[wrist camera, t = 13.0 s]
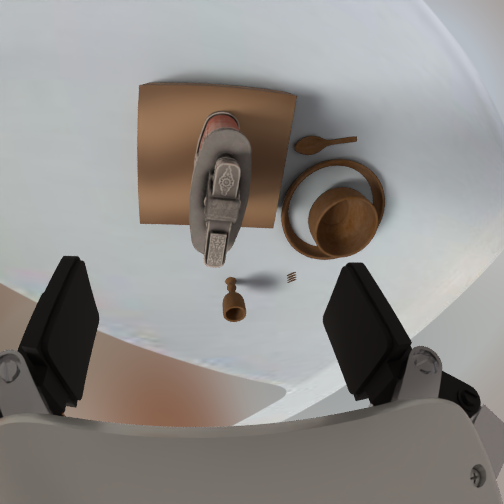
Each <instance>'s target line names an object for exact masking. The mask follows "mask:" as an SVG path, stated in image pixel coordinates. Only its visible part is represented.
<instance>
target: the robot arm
mask: <svg viewBox="0 0 504 504" xmlns="http://www.w3.org/2000/svg"><path fill="white" fill-rule="evenodd" d="M98 324H99V314H98V310H97V307H96V304H95V300H94V297H93V293H92V290H91V286H90V282H89V278H88V274H87V270H86V266H85V263H84V261H81V260H80V258H79V257H78V256H63V257H62V259H61V261H60V263H59V264H58V266H57V268H56V270H55V272H54V274H53V276H52V278H51V280H50V282H49V284H48V286H47V288H46V290H45V292H44V293H43V294H42V295H41V297H40V299H39V301H38V303H37V305H36V308H35V310H34V312H33V314H32V316H31V319H30V321H29V324H28V326H27V328H26V330H25V333H24V336H23V338H22V341H21V343H20V345H19V348H18V351H15V350H6V351H2V352H1V353H0V504H503V502H502V498H501V494H500V491H499V488H498V485H497V481H496V478H497V476H498V474H499V472H500V470H501V468H502V465H503V463H504V423H503V422H502V421H501V420H500V419H499V418H498V417H497V416H496V415H495V414H494V413H493V412H492V411H490V410H489V409H488V408H487V407H486V406H485V405H484V404H483V405H482V406H480V403H481V402H480V397H479V395H478V393H477V391H476V390H475V389H474V388H473V387H471V386H470V385H468V384H466V383H464V382H462V381H461V380H458V379H457V378H455V377H453V376H451V375H449V374H447V373H445V372H443V371H442V363H441V360H440V358H439V356H438V355H437V354H436V353H435V352H434V351H433V350H431V349H430V348H427V347H424V346H417V347H414V348H413V349H412V348H411V346H410V345H411V343H412V342H411V340H410V338H409V337H408V335H407V333H406V331H405V330H404V328H403V326H402V324H401V323H400V321H399V319H398V318H397V316H396V314H395V313H394V311H393V309H392V308H391V306H390V304H389V303H388V301H387V299H386V298H385V296H384V295H383V293H382V291H381V290H380V288H379V287H378V285H377V283H376V282H375V280H374V279H373V277H372V276H371V274H370V273H369V271H368V269H367V268H366V266H365V265H364V264H363V263H347V264H346V266H344V267H343V268H342V269H341V272H340V275H339V277H338V280H337V283H336V285H335V288H334V290H333V293H332V295H331V298H330V301H329V303H328V305H327V308H326V310H325V313H324V315H323V324H324V327H325V329H326V332H327V334H328V337H329V340H330V342H331V345H332V347H333V350H334V353H335V355H336V358H337V360H338V363H339V366H340V368H341V371H342V374H343V376H344V379H345V382H346V384H347V387H348V390H349V392H350V393H351V394H354V397H355V400H356V401H358V400H363V399H367V398H369V401H370V405H369V407H368V408H364V409H359V410H354V411H349V412H345V413H340V414H334V415H328V416H323V417H316V418H310V419H303V420H296V421H289V422H279V423H270V424H259V425H246V426H228V427H160V426H143V425H130V424H119V423H110V422H101V421H93V420H85V419H79V418H72V417H66V416H65V415H64V412H65V407H66V406H70V407H76V406H77V400H81V399H82V395H83V390H84V384H85V380H86V375H87V370H88V365H89V361H90V356H91V352H92V348H93V344H94V340H95V336H96V332H97V328H98Z"/></svg>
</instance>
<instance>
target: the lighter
mask: <svg viewBox="0 0 504 504" xmlns="http://www.w3.org/2000/svg"><path fill="white" fill-rule="evenodd" d="M250 182H251V146H250V143H249V141H248V139H247V138H246V136H245V135H244V134H243V133H242V132H240V126H239V122H238V120H237V118H236V117H235V116H234V115H233V114H231V113H230V112H227V111H216V112H213V113H211V114H210V115H208V117H207V118H206V120H205V122H204V125H203V128H202V130H201V133H200V136H199V139H198V144H197V149H196V154H195V159H194V169H193V174H192V181H191V189H190V198H189V224H190V232H191V239H192V244H193V246H194V248H195V249H196V250H197V251H199V252H201V253H202V254H204V263H205V265H206V266H208V267H215V268H216V267H221V266H223V265H224V263H225V258H226V253H227V251H229V250H230V249H231V247H232V246H233V244H234V242H235V239H236V237H237V234H238V232H239V230H240V227H241V225H242V221H243V218H244V214H245V211H246V207H247V204H248V198H249V190H250Z"/></svg>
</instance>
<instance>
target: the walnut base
mask: <svg viewBox="0 0 504 504" xmlns="http://www.w3.org/2000/svg"><path fill="white" fill-rule="evenodd" d="M296 98H297V96H295V95H292V94H290V93H287V92H283V91H276V90H269V89H261V88H253V87H243V86H233V85H220V84H203V83H147V84H143V85H139V100H138V136H137V159H138V195H139V214H140V224H175V225H190V224H189V198H190V189H191V181H192V174H193V169H194V159H195V154H196V149H197V144H198V139H199V136H200V133H201V130H202V128H203V125H204V122H205V120H206V118H207V117H208V115H210V114H211V113H213V112H216V111H227V112H230V113H231V114H233V115H234V116H235V117H236V118H237V120H238V122H239V126H240V132H242V133H243V134H244V135H245V136H246V138H247V139H248V141H249V143H250V146H251V182H250V190H249V198H248V204H247V207H246V211H245V214H244V218H243V221H242V225H241V227H255V228H273V227H274V221H275V216H276V211H277V205H278V200H279V194H280V189H281V183H282V178H283V172H284V167H285V161H286V156H287V150H288V144H289V139H290V133H291V127H292V122H293V116H294V110H295V104H296Z"/></svg>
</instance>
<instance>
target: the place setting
mask: <svg viewBox="0 0 504 504" xmlns="http://www.w3.org/2000/svg"><path fill="white" fill-rule="evenodd" d="M356 141H357V137H347V138H341V139H335V140H325V139H323V138H320V137H317V136H308V137H305V138H303V139H301V140H300V141H298V142H297V143H296V144H295V151H297V152H299V153H301V154H305V155H312V154H315V153H317V152H319V151H321V150H322V149H323V148H324V147H326V146H329V145H333V144H340V143H349V142H356ZM336 165H338V166H346V167H350V168H353V169H355V170H356V171H358V172H359V173H361V174H362V175H363V176H364V177H365V178H366V180H367V181H368V183H369V185H370V187H371V190H372V195H373V204H372V203H371V202H370V201H369V200H368V199H367V198H366V197H365V196H363V195H362V194H361V193H360V192H358V191H356V190H354V189H351V188H347V187H337V188H333V189H330V190H328V191H326V192H324V193H323V194H322V195H320V196H319V197H318V198H317V199H316V201H315V202H314V203H313V205H312V207H311V209H310V212H309V218H308V224H309V229H310V232H311V235H312V237H313V239H314V241H315V243H316V244H317V246H313V245H310V244H307V243H305V242H304V241H302V240H301V239H300V238H299V237H297V236H296V234H295V233H294V232H293V230H292V228H291V225H290V222H289V217H288V210H289V204H290V200H291V198H292V195H293V193H294V191H295V190H296V188H297V187H298V185H299V184H300V183H301V182H302V181H303V180H304V179H305V178H306V177H307V176H309V175H310V174H312V173H313V172H315V171H317V170H319V169H321V168H324V167H328V166H336ZM384 207H385V196H384V191H383V187H382V185H381V183H380V181H379V179H378V178H377V176H376V175H375V174H374V173H373V172H372V171H371V170H370V169H368V168H367V167H365V166H364V165H362V164H360V163H357V162H355V161H351V160H345V159H334V160H328V161H324V162H321V163H318V164H316V165H314V166H312V167H311V168H309V169H307V170H306V171H305V172H303V173H302V174H301V175H300V176H299V177H298V178H297V179H296V180H295V181H294V182H293V184H292V185H291V187H290V188H289V190H288V192H287V194H286V196H285V199H284V201H283V206H282V212H281V222H282V227H283V231H284V234H285V236H286V238H287V240H288V242H289V243H290V244H291V246H292V247H293V248H294V249H295V250H296V251H298V252H299V253H301V254H303V255H305V256H307V257H310V258H314V259H321V260H328V259H335V258H340V257H347V256H351V255H353V254H356V253H357V252H359V251H361V250H362V249H363V248H365V247H366V246H367V245H368V244H369V243H370V241H371V240H372V238H373V237H374V235H375V233H376V230H377V228H378V226H379V224H380V222H381V219H382V217H383V213H384ZM294 273H296V272H293V273H291V274H289V275H292V274H294ZM289 275H287V276H289ZM292 276H295V275H292ZM292 276H290V277H292ZM290 277H288V278H290ZM293 278H296V277H293ZM293 278H291V279H293ZM291 279H289V280H291ZM294 280H296V279H294ZM294 280H291V281H289V282H292V281H294ZM287 281H288V280H287ZM225 282H226V284H227V285H228V286H227V290H228V291H229V293H228V294H227V295H225V297H224V299H223V315H224V318H225V319H226V320H228V321H230V322H237V321H240V320H242V319H244V318H245V316H246V308H245V303H244V299H243V297H242V296H241V295H240V294H239V293H236V292H235V290H236V285H235V283H236V279H235V278H233V277H229V278H227V279H226V281H225ZM289 282H288V283H289Z"/></svg>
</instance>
